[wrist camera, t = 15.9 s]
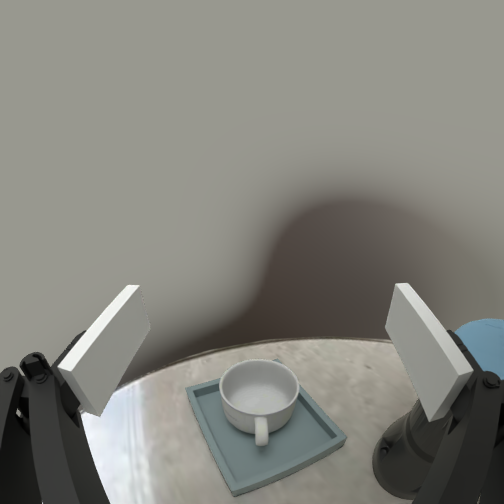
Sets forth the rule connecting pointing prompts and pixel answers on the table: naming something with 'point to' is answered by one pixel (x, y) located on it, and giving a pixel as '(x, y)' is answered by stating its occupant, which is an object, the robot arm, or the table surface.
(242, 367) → the teacup
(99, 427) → the table surface
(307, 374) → the table surface
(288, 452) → the tray
